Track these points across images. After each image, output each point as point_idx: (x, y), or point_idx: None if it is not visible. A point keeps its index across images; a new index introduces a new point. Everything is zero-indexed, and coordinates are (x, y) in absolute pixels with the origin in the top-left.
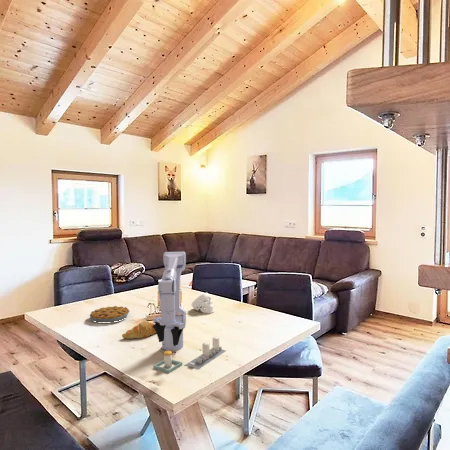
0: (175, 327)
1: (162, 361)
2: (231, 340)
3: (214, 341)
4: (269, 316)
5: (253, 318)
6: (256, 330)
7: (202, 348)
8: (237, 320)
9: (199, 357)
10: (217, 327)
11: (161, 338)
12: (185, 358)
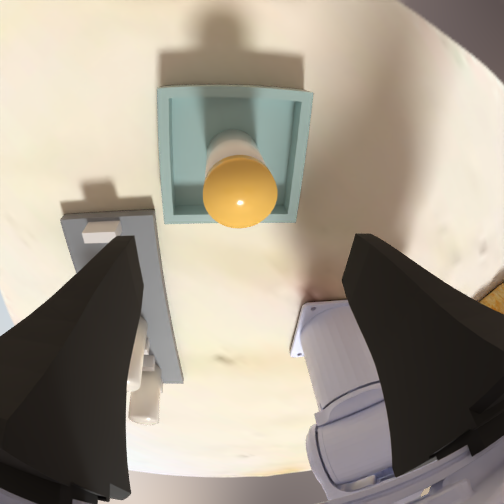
0: (29, 492)
1: (293, 170)
2: (182, 418)
3: (138, 404)
4: (203, 471)
5: (226, 465)
6: (174, 449)
7: (136, 355)
8: (253, 456)
9: (156, 313)
10: (277, 435)
11: (365, 276)
12: (224, 285)
